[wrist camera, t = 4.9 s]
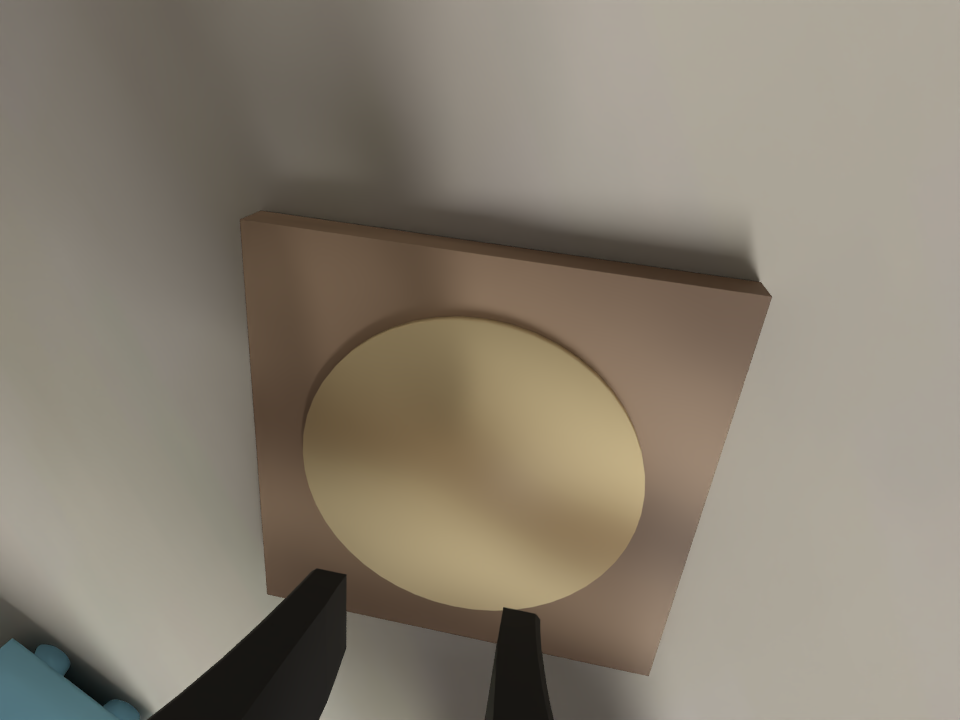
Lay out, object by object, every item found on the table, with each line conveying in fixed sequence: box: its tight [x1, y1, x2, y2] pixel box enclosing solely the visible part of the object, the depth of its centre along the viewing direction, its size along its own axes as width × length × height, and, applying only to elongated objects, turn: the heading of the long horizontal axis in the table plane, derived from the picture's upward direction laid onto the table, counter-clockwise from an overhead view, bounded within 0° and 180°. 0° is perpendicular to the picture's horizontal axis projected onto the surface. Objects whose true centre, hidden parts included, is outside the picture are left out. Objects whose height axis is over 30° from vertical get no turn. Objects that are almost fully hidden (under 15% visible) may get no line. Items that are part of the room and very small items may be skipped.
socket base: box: [240, 211, 772, 676], centre depth 17 cm, size 12×12×1 cm
